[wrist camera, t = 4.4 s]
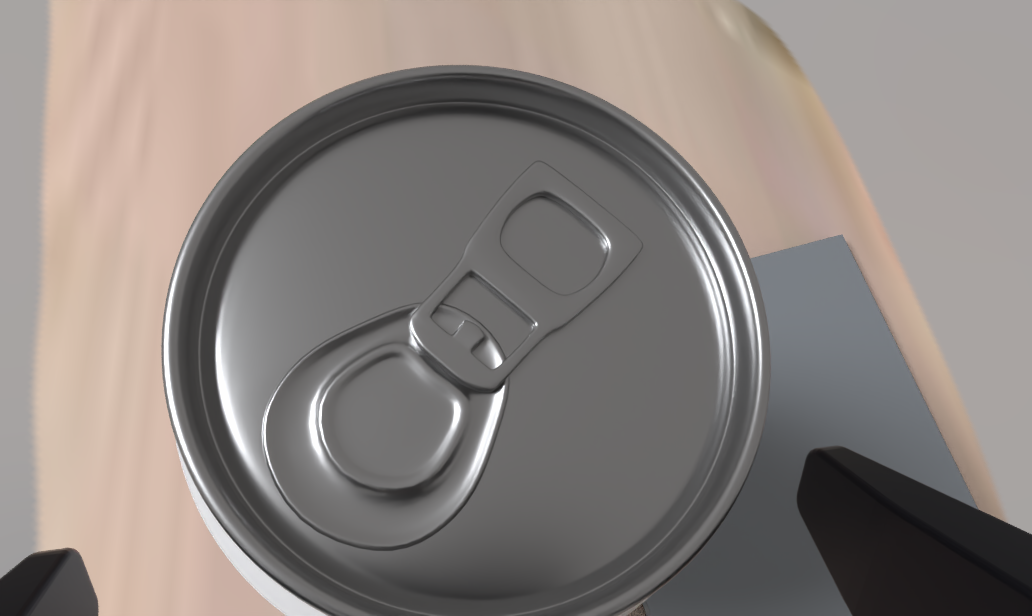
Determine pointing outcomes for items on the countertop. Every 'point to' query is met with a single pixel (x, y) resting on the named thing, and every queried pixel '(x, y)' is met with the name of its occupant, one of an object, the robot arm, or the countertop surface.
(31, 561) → the robot arm
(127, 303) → the countertop surface
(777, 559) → the mat
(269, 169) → the can
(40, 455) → the countertop surface
